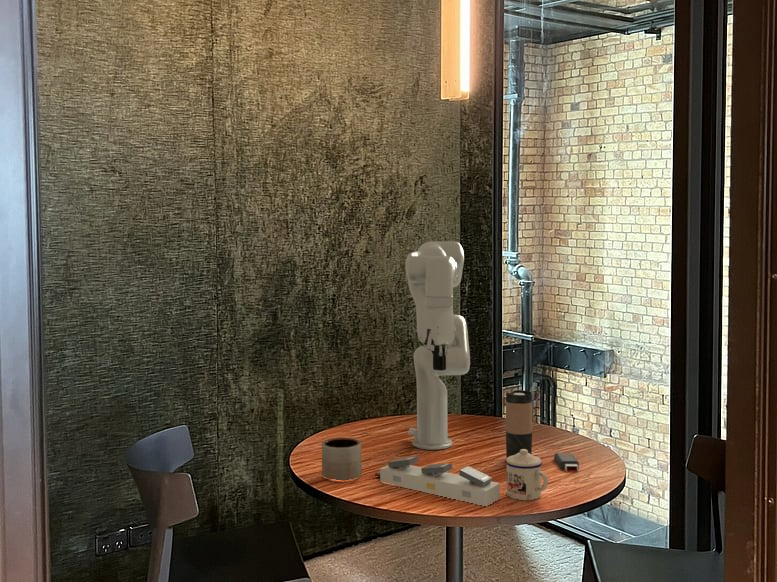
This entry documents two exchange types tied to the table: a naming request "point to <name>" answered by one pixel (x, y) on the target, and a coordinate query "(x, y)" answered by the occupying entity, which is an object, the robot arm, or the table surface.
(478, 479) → the rocker right
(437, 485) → the power strip
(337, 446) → the planter
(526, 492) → the teacup with lid
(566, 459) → the usb drive
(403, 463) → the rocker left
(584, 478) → the table surface
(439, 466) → the rocker middle
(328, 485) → the table surface
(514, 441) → the travel mug
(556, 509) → the table surface
